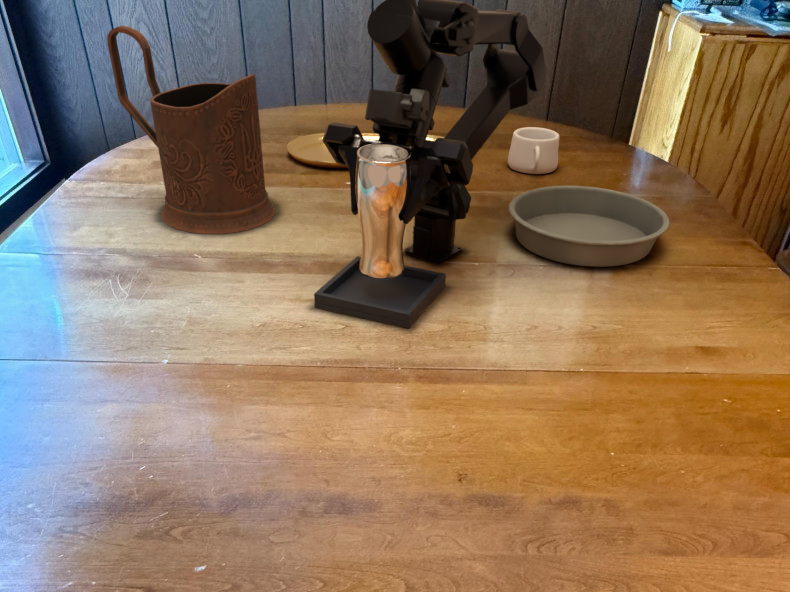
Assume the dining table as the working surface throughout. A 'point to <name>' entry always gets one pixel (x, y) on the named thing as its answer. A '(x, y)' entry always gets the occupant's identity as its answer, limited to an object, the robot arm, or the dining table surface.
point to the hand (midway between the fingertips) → (378, 217)
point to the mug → (534, 150)
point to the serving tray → (381, 294)
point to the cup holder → (203, 148)
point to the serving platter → (322, 149)
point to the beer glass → (382, 207)
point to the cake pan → (587, 225)
